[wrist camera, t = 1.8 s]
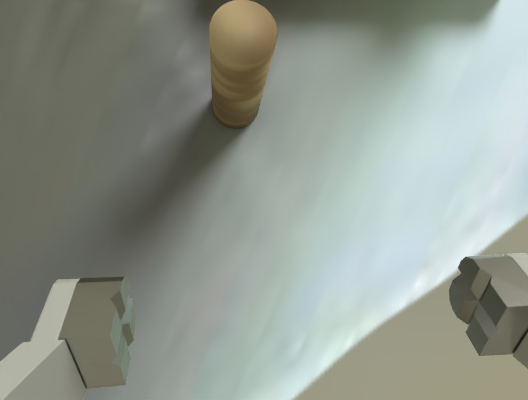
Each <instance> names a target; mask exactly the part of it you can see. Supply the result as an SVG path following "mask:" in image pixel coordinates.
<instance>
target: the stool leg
mask: <svg viewBox="0 0 528 400" xmlns="http://www.w3.org/2000/svg"><path fill="white" fill-rule="evenodd" d="M209 35H210V59H211V82H212V106H213V112H214V115H215V117H216V118H217V120H218V121H219V122H220V123H222V124H223V125H225V126H227V127H230V128H243V127H245V126H247V125H249V124H250V123H252V122H253V120H254V119H255V118H256V116H257V113H258V109H259V106H260V102H261V98H262V94H263V90H264V87H265V83H266V79H267V75H268V72H269V68H270V64H271V60H272V57H273V53H274V49H275V45H276V41H277V36H278V31H277V25H276V22H275V20H274V18H273V16H272V15H271V14H270V12H269V11H268V10H267V9H266V8H264V7H263V6H262V5H260V4H258V3H256V2H253V1H249V0H234V1H230V2H228V3H226V4H224V5H222V6H221V7H220V8H219V9H218V10H217V11H216V12H215V13H214V15H213V17H212V19H211V22H210V27H209Z"/></svg>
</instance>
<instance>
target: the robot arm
mask: <svg viewBox="0 0 528 400" xmlns="http://www.w3.org/2000/svg"><path fill="white" fill-rule="evenodd" d="M458 269H459V271H460V272H461V274H460V275H459V276H457V277H456V278H455V279H454V280H453V281H452V284H451V286H450V289H449V296H450V303H451V306H452V309H453V311H454V313H455V314H456V316H457V317H458V318H459V319H460V320H462V321H463V322H465V323H466V324H467V328H466V334H467V335H468V337H469V339H470V341H471V342H472V344H473V346H474V348H475V349H476V351H477V353H478V355H479V356H485V355H506V354H513V357H515V358H516V359H517V360H518V361H519V362H521V363H522V364H523V365H524V366H525V367H527V368H528V254H526V253H516V254H505V255H502V254H500V255H485V256H470V257H465V258H464V259H463V260H461V262H460V264H459V267H458ZM129 291H130V286H129V282H128V279H127V278H126V277H105V278H80V279H58V280H57V281H56V282H55V283H54V284H53V285H52V287H51V290H50V292H49V295H48V297H47V300H46V302H45V305H44V307H43V310H42V312H41V315H40V317H39V320H38V322H37V325H36V327H35V330H34V332H33V335H32V337H31V340H30V342H23V343H21V344H20V345H19V346H18V347H17V348H15V349H14V350H13V351H12V352H11V353H10V354H8V355H7V356H6V357H5V358H4V359H3V360H2V361H0V400H80V399H81V398H82V397H83V396H84V394H85V393H86V392H87V390H86V389H91V388H100V387H109V386H119V385H126V382H127V376H128V370H129V365H130V359H131V357H130V353H129V349H128V346H129V345H130V344H131V343H132V342H133V340H134V335H135V326H136V313H135V306H134V301H133V300H132V299H131V298H129V297H128V296H129Z"/></svg>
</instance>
